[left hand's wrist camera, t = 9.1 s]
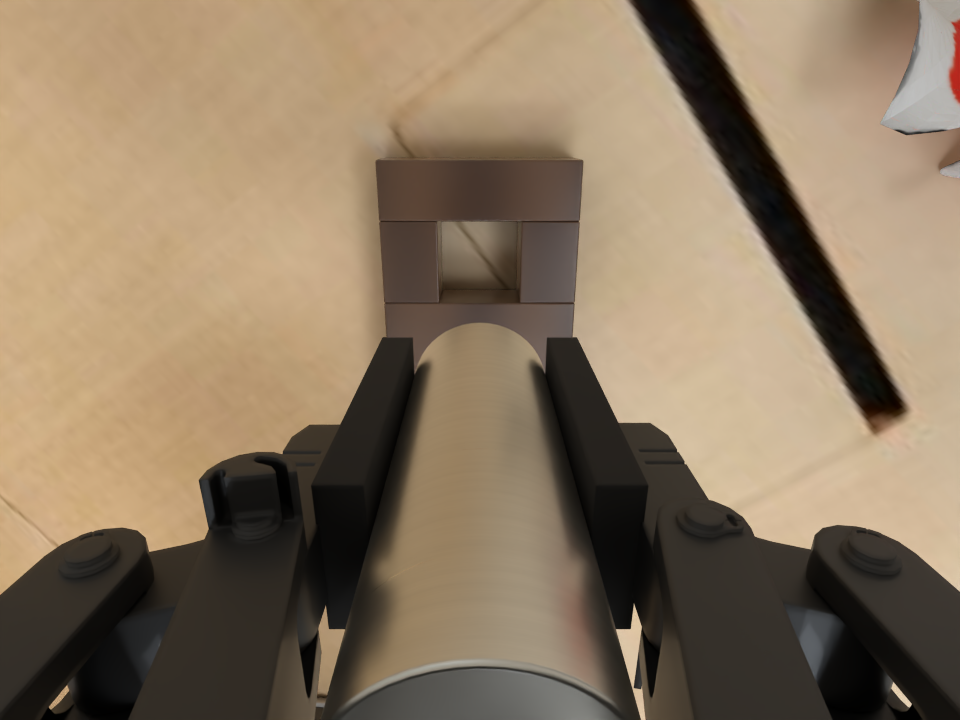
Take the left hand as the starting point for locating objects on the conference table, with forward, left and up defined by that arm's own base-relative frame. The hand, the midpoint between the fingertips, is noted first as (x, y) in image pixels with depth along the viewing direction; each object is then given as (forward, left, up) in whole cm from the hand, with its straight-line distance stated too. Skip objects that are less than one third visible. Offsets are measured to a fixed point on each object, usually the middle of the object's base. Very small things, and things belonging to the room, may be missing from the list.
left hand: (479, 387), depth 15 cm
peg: (0, 0, 0) cm, 0 cm away
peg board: (0, +7, -19) cm, 20 cm away
